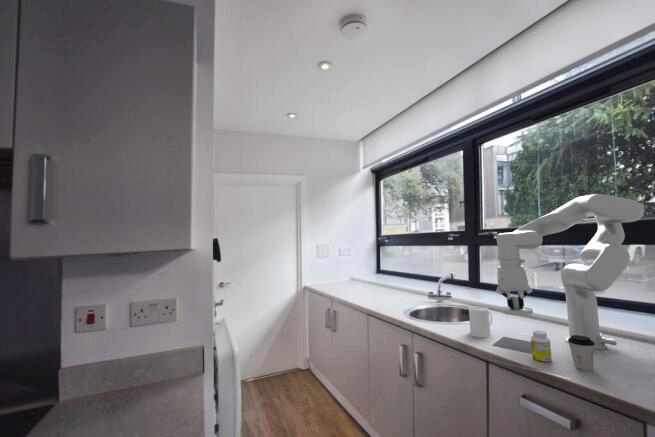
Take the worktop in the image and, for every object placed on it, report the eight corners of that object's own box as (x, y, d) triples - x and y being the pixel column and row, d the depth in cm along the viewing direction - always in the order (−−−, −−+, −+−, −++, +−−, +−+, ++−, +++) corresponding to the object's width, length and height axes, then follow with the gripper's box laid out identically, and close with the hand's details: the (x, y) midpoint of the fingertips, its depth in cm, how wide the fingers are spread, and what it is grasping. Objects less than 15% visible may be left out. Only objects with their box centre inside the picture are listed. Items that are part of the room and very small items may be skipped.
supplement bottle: (535, 357, 111) (532, 328, 112) (553, 361, 107) (551, 331, 108) (530, 362, 108) (528, 332, 108) (550, 366, 104) (547, 335, 104)
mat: (542, 345, 123) (542, 343, 123) (532, 355, 113) (532, 353, 113) (503, 338, 133) (503, 336, 133) (491, 346, 123) (491, 345, 123)
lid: (536, 310, 124) (534, 295, 124) (528, 316, 116) (526, 300, 116) (506, 307, 132) (504, 293, 132) (497, 313, 124) (495, 298, 124)
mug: (487, 330, 144) (484, 304, 144) (501, 336, 136) (499, 308, 136) (465, 333, 141) (463, 307, 141) (479, 339, 132) (477, 311, 133)
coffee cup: (603, 372, 98) (600, 340, 98) (583, 374, 97) (580, 341, 98) (583, 363, 104) (580, 333, 105) (564, 365, 104) (561, 335, 105)
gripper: (529, 260, 126) (536, 305, 125) (486, 263, 131) (491, 306, 130) (536, 262, 119) (542, 310, 118) (490, 265, 124) (495, 311, 123)
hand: (516, 308), depth 124 cm, fingers closed on lid, 2 cm apart
